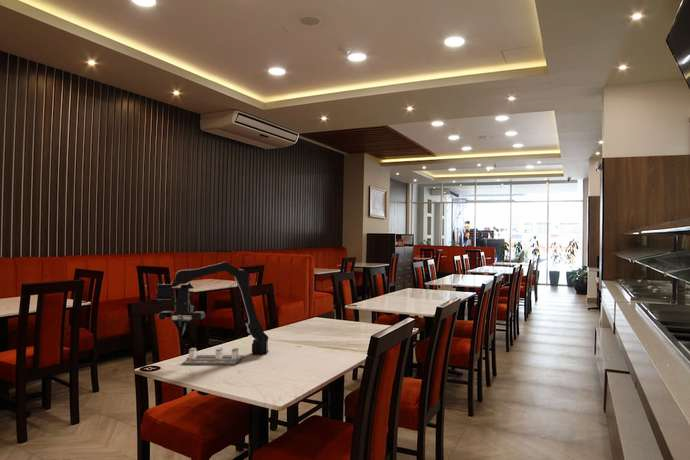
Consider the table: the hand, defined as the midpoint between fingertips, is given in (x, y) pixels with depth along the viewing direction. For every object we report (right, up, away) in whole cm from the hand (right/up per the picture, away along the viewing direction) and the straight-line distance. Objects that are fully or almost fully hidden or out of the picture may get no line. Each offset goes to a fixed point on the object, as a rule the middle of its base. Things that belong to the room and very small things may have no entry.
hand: (181, 335), depth 199 cm
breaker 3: (+23, -11, -1) cm, 26 cm away
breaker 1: (+5, -11, 0) cm, 12 cm away
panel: (+14, -11, -1) cm, 18 cm away
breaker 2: (+16, -11, -1) cm, 20 cm away
